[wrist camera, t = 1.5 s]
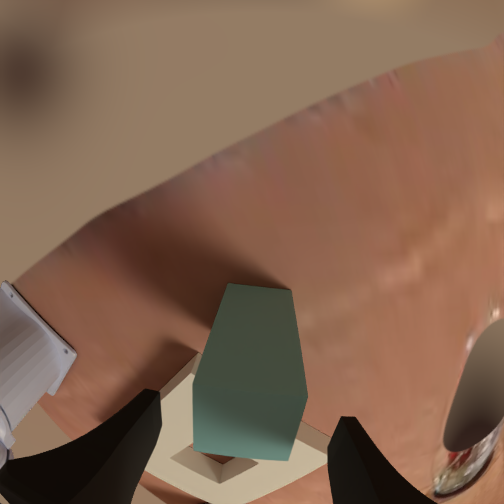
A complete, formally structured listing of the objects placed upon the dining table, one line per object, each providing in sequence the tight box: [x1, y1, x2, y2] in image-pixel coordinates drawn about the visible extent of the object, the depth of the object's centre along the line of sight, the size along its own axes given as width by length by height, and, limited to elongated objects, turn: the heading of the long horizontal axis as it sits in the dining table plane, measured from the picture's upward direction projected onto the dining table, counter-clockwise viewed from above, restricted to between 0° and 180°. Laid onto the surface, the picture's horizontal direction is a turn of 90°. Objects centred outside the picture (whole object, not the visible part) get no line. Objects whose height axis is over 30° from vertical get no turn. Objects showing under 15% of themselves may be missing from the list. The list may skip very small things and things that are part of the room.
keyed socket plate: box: [145, 352, 331, 504], centre depth 22 cm, size 14×14×2 cm
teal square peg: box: [192, 283, 308, 461], centre depth 15 cm, size 4×4×10 cm
